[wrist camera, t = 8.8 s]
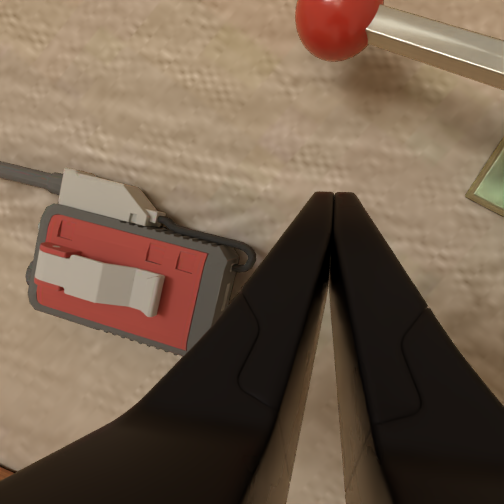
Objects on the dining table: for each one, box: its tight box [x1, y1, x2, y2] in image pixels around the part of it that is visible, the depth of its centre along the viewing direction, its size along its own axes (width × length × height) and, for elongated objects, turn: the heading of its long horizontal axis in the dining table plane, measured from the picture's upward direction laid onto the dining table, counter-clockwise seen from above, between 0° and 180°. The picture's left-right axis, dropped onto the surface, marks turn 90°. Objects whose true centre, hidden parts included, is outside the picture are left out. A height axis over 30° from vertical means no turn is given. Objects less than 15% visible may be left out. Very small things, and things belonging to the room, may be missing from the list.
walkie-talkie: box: [0, 161, 256, 356], centre depth 22 cm, size 9×4×20 cm
